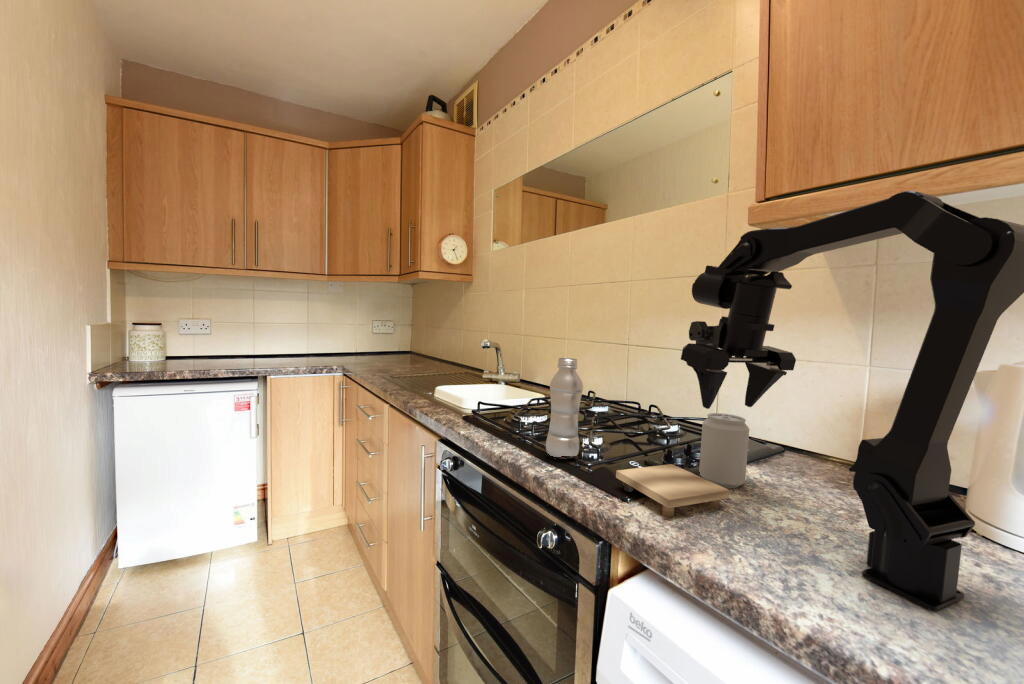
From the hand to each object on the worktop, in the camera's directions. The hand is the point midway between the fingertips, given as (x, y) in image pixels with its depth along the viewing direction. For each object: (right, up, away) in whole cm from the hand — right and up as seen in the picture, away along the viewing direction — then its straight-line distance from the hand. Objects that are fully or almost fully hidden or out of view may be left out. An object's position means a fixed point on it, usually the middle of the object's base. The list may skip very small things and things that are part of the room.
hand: (727, 407), depth 71 cm
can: (+2, -15, +6) cm, 16 cm away
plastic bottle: (-26, -13, +15) cm, 32 cm away
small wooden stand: (-10, -14, -2) cm, 18 cm away
